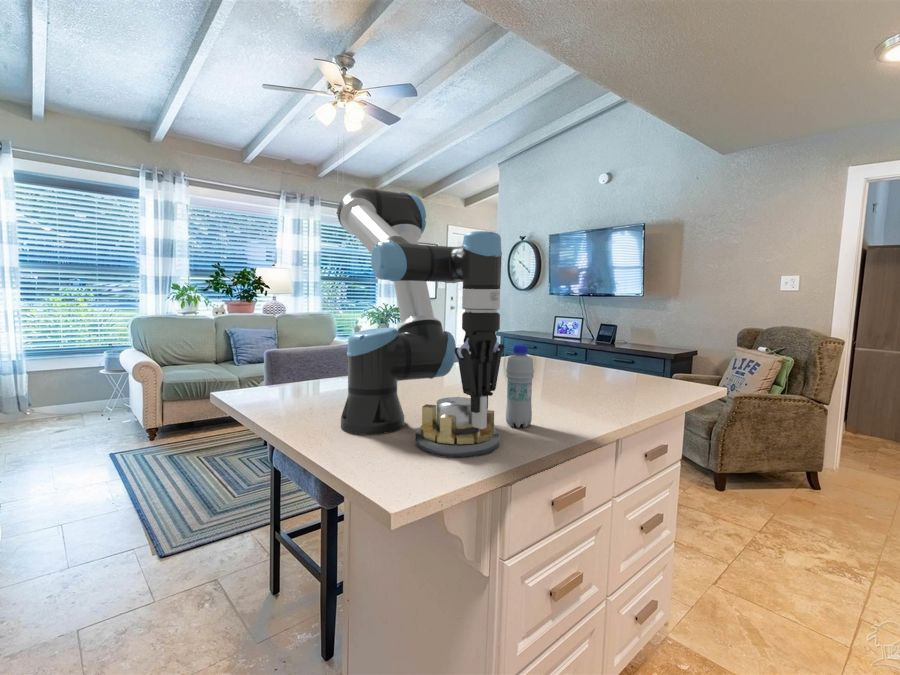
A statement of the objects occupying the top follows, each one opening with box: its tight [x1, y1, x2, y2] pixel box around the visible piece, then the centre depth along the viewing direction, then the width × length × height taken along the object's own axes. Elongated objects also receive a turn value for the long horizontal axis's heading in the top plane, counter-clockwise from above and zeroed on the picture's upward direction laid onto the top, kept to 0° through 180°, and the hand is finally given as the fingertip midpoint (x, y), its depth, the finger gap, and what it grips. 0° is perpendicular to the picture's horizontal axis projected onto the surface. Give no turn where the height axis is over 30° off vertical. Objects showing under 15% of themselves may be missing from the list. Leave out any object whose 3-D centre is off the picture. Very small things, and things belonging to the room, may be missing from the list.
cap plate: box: [414, 396, 500, 459], centre depth 97 cm, size 18×18×9 cm
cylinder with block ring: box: [420, 404, 495, 444], centre depth 97 cm, size 15×15×5 cm
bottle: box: [505, 344, 535, 429], centre depth 110 cm, size 7×7×20 cm
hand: (479, 427), depth 92 cm, fingers closed
